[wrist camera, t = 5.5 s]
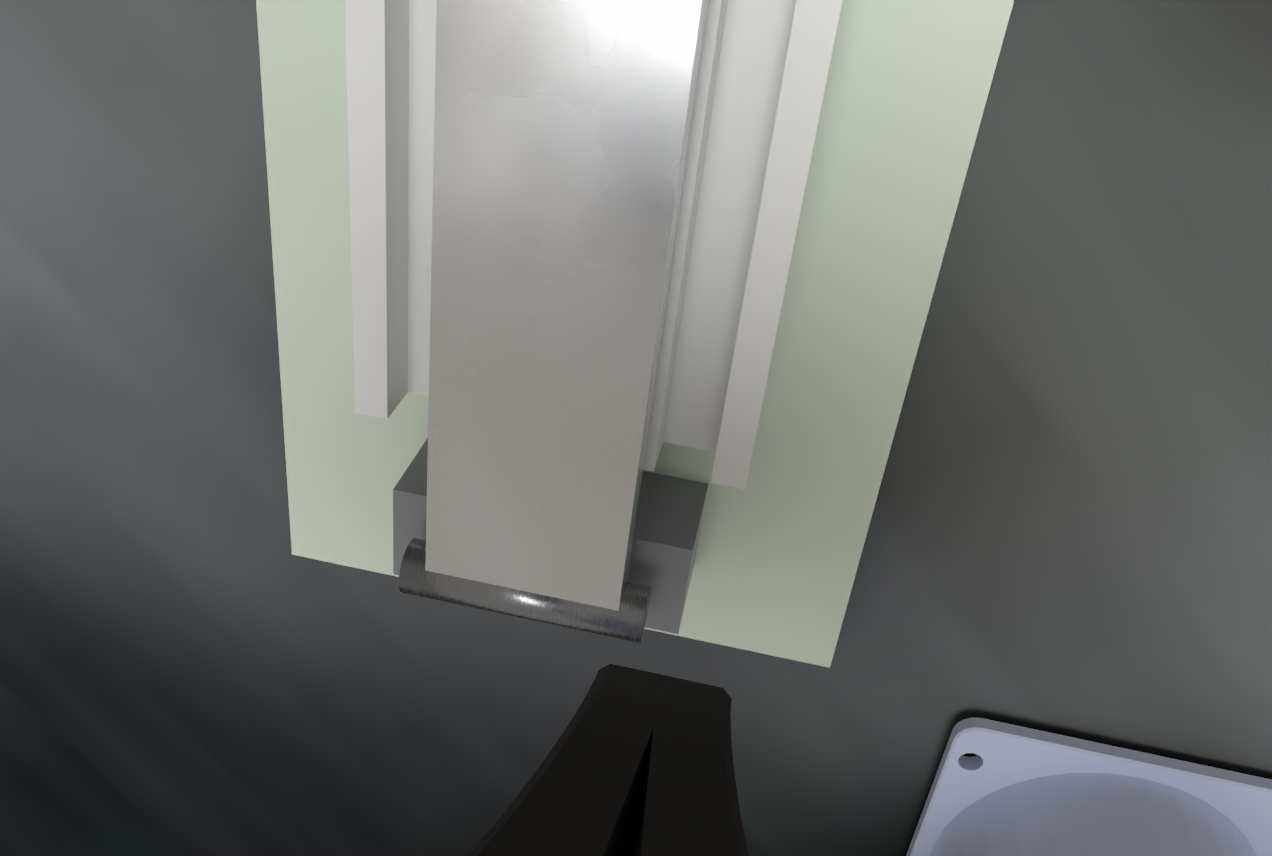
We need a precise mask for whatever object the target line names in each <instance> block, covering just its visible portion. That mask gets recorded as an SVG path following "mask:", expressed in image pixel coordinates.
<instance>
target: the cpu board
mask: <svg viewBox="0 0 1272 856" xmlns="http://www.w3.org/2000/svg"><path fill="white" fill-rule="evenodd" d="M1013 3H1014V0H708V7H707V14H706V22H705V29H704V36H703V43H702V50H701V57H700V65H699V72H698V79H697V86H696V93H695V100H694V108H693V115H692V122H691V129H690V136H689V143H688V150H687V158H686V165H685V172H684V179H683V186H682V193H681V201H680V208H679V215H678V222H677V229H676V236H675V244H674V251H673V258H672V265H671V272H670V279H669V287H668V294H667V301H666V308H665V315H664V322H663V329H662V337H661V344H660V351H659V358H658V365H657V372H656V380H655V387H654V394H653V401H652V408H651V415H650V423H649V430H648V437H647V444H646V451H645V458H644V466H643V473H642V480H641V487H640V494H639V501H638V508H637V516H636V523H635V530H634V537H633V544H632V551H631V559H630V566H629V573H628V580H627V582H630V583H635V584H640V585H645V586H649V587H652V590H651V598H650V604H649V609H648V614H647V619H646V624H645V628H644V629H648V630H653V631H658V632H662V633H667V634H672V635H677V636H681V637H686V638H691V639H696V640H700V641H705V642H710V643H715V644H719V645H724V646H729V647H734V648H738V649H743V650H748V651H753V652H757V653H762V654H767V655H772V656H776V657H781V658H786V659H791V660H795V661H800V662H805V663H810V664H814V665H819V666H824V667H829V668H830V666H831V662H832V659H833V655H834V651H835V648H836V644H837V640H838V637H839V633H840V630H841V626H842V622H843V619H844V615H845V611H846V608H847V604H848V601H849V597H850V593H851V590H852V586H853V583H854V579H855V575H856V572H857V568H858V564H859V561H860V557H861V554H862V550H863V546H864V543H865V539H866V535H867V532H868V528H869V525H870V521H871V517H872V514H873V510H874V506H875V503H876V499H877V496H878V492H879V488H880V485H881V481H882V477H883V474H884V470H885V467H886V463H887V459H888V456H889V452H890V448H891V445H892V441H893V438H894V434H895V430H896V427H897V423H898V419H899V416H900V412H901V409H902V405H903V401H904V398H905V394H906V390H907V387H908V383H909V380H910V376H911V372H912V369H913V365H914V361H915V358H916V354H917V351H918V347H919V343H920V340H921V336H922V333H923V329H924V325H925V322H926V318H927V314H928V311H929V307H930V304H931V300H932V296H933V293H934V289H935V285H936V282H937V278H938V275H939V271H940V267H941V264H942V260H943V256H944V253H945V249H946V246H947V242H948V238H949V235H950V231H951V227H952V224H953V220H954V217H955V213H956V209H957V206H958V202H959V198H960V195H961V191H962V188H963V184H964V180H965V177H966V173H967V169H968V166H969V162H970V159H971V155H972V151H973V148H974V144H975V140H976V137H977V133H978V130H979V126H980V122H981V119H982V115H983V111H984V108H985V104H986V101H987V97H988V93H989V90H990V86H991V82H992V79H993V75H994V72H995V68H996V64H997V61H998V57H999V54H1000V50H1001V46H1002V43H1003V39H1004V35H1005V32H1006V28H1007V25H1008V21H1009V17H1010V14H1011V10H1012V6H1013ZM256 6H257V21H258V37H259V52H260V68H261V83H262V99H263V114H264V129H265V145H266V160H267V176H268V191H269V207H270V222H271V238H272V253H273V269H274V284H275V300H276V315H277V331H278V346H279V362H280V377H281V393H282V408H283V424H284V439H285V455H286V470H287V486H288V501H289V516H290V532H291V547H292V555H297V556H302V557H307V558H311V559H316V560H321V561H326V562H330V563H335V564H340V565H345V566H349V567H354V568H359V569H364V570H368V571H373V572H378V573H382V574H387V575H392V576H397V577H399V573H400V567H401V563H402V559H403V556H404V553H405V550H406V548H407V546H408V544H409V542H410V541H411V540H412V539H413V538H417V539H422V540H426V510H427V460H428V409H429V359H430V308H431V258H432V208H433V157H434V107H435V57H436V6H437V0H256Z"/></svg>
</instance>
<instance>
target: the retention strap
mask: <svg viewBox="0 0 1272 856" xmlns="http://www.w3.org/2000/svg"><path fill="white" fill-rule="evenodd" d="M707 7H708V0H437V6H436V57H435V107H434V157H433V208H432V258H431V308H430V359H429V409H428V460H427V510H426V540H422V539H417V538H413V539H412V540H411V541H410V542H409V544H408V546H407V548H406V550H405V553H404V556H403V559H402V563H401V567H400V573H399V589H400V591H401V592H403V593H408V594H413V595H417V596H422V597H427V598H431V599H436V600H441V601H446V602H450V603H455V604H460V605H464V606H469V607H474V608H479V609H483V610H488V611H493V612H497V613H502V614H507V615H512V616H516V617H521V618H526V619H530V620H535V621H540V622H545V623H549V624H554V625H559V626H563V627H568V628H573V629H578V630H582V631H587V632H592V633H596V634H601V635H606V636H611V637H615V638H620V639H625V640H629V641H634V642H639V643H640V642H641V640H642V636H643V632H644V628H645V624H646V619H647V614H648V609H649V604H650V598H651V590H652V587H649V586H645V585H640V584H635V583H630V582H627V580H628V573H629V566H630V559H631V551H632V544H633V537H634V530H635V523H636V516H637V508H638V501H639V494H640V487H641V480H642V473H643V466H644V458H645V451H646V444H647V437H648V430H649V423H650V415H651V408H652V401H653V394H654V387H655V380H656V372H657V365H658V358H659V351H660V344H661V337H662V329H663V322H664V315H665V308H666V301H667V294H668V287H669V279H670V272H671V265H672V258H673V251H674V244H675V236H676V229H677V222H678V215H679V208H680V201H681V193H682V186H683V179H684V172H685V165H686V158H687V150H688V143H689V136H690V129H691V122H692V115H693V108H694V100H695V93H696V86H697V79H698V72H699V65H700V57H701V50H702V43H703V36H704V29H705V22H706V14H707Z"/></svg>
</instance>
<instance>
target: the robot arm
mask: <svg viewBox="0 0 1272 856" xmlns="http://www.w3.org/2000/svg"><path fill="white" fill-rule="evenodd" d="M730 711H731V697H730V696H729V695H728V694H727V692H726V691H725V690H724V689H723V688H720V687H716V686H711V685H706V684H702V683H697V682H692V681H688V680H683V679H678V678H674V677H669V676H664V675H660V674H655V673H650V672H646V671H641V670H636V669H632V668H627V667H623V666H618V665H613V664H610V665H608V666H606V667H604V668H602V669H600V670H599V671H598V674H597V676H596V678H595V680H594V682H593V684H592V686H591V688H590V690H589V692H588V693H587V695H586V697H585V699H584V700H583V702H582V704H581V706H580V707H579V709H578V711H577V712H576V714H575V716H574V717H573V719H572V720H571V722H570V723H569V725H568V727H567V728H566V730H565V731H564V733H563V734H562V735H561V737H560V738H559V740H558V741H557V743H556V744H555V746H554V747H553V749H552V750H551V752H550V753H549V755H548V756H547V757H546V759H545V760H544V761H543V763H542V764H541V765H540V767H539V768H538V769H537V771H536V772H535V773H534V775H533V776H532V777H531V779H530V780H529V781H528V783H527V784H526V785H525V787H524V788H523V789H522V791H521V792H520V793H519V795H518V796H517V797H516V799H515V800H514V801H513V803H512V804H511V805H510V807H509V808H508V809H507V810H506V812H505V813H504V814H503V815H502V816H501V818H500V819H499V820H498V821H497V822H496V824H495V825H494V826H493V827H492V828H491V829H490V831H489V832H488V833H487V834H486V835H485V836H484V838H483V839H482V840H481V841H480V842H479V843H478V845H477V846H476V847H475V848H474V849H473V850H472V852H471V853H470V854H469V855H468V856H749V855H748V850H747V845H746V841H745V836H744V831H743V826H742V821H741V815H740V809H739V803H738V797H737V789H736V782H735V774H734V767H733V757H732V746H731V721H730ZM966 753H974V754H977V755H976V756H973V757H966V756H963V755H964V754H966ZM906 856H1272V779H1267V778H1262V777H1257V776H1253V775H1248V774H1243V773H1239V772H1234V771H1229V770H1224V769H1220V768H1215V767H1210V766H1206V765H1201V764H1196V763H1191V762H1187V761H1182V760H1177V759H1173V758H1168V757H1163V756H1158V755H1154V754H1149V753H1144V752H1140V751H1135V750H1130V749H1125V748H1121V747H1116V746H1111V745H1107V744H1102V743H1097V742H1093V741H1088V740H1083V739H1078V738H1074V737H1069V736H1064V735H1060V734H1055V733H1050V732H1045V731H1041V730H1036V729H1031V728H1027V727H1022V726H1017V725H1012V724H1008V723H1003V722H998V721H994V720H989V719H984V718H975V717H972V718H967V719H963V720H962V721H960V722H958V723H957V724H956V725H955V727H954V728H953V730H952V732H951V735H950V738H949V740H948V743H947V746H946V749H945V751H944V754H943V757H942V759H941V762H940V765H939V768H938V770H937V773H936V776H935V778H934V781H933V784H932V787H931V789H930V792H929V795H928V797H927V800H926V803H925V805H924V808H923V811H922V814H921V816H920V819H919V822H918V824H917V827H916V830H915V833H914V835H913V838H912V841H911V843H910V846H909V849H908V852H907V854H906Z"/></svg>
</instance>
